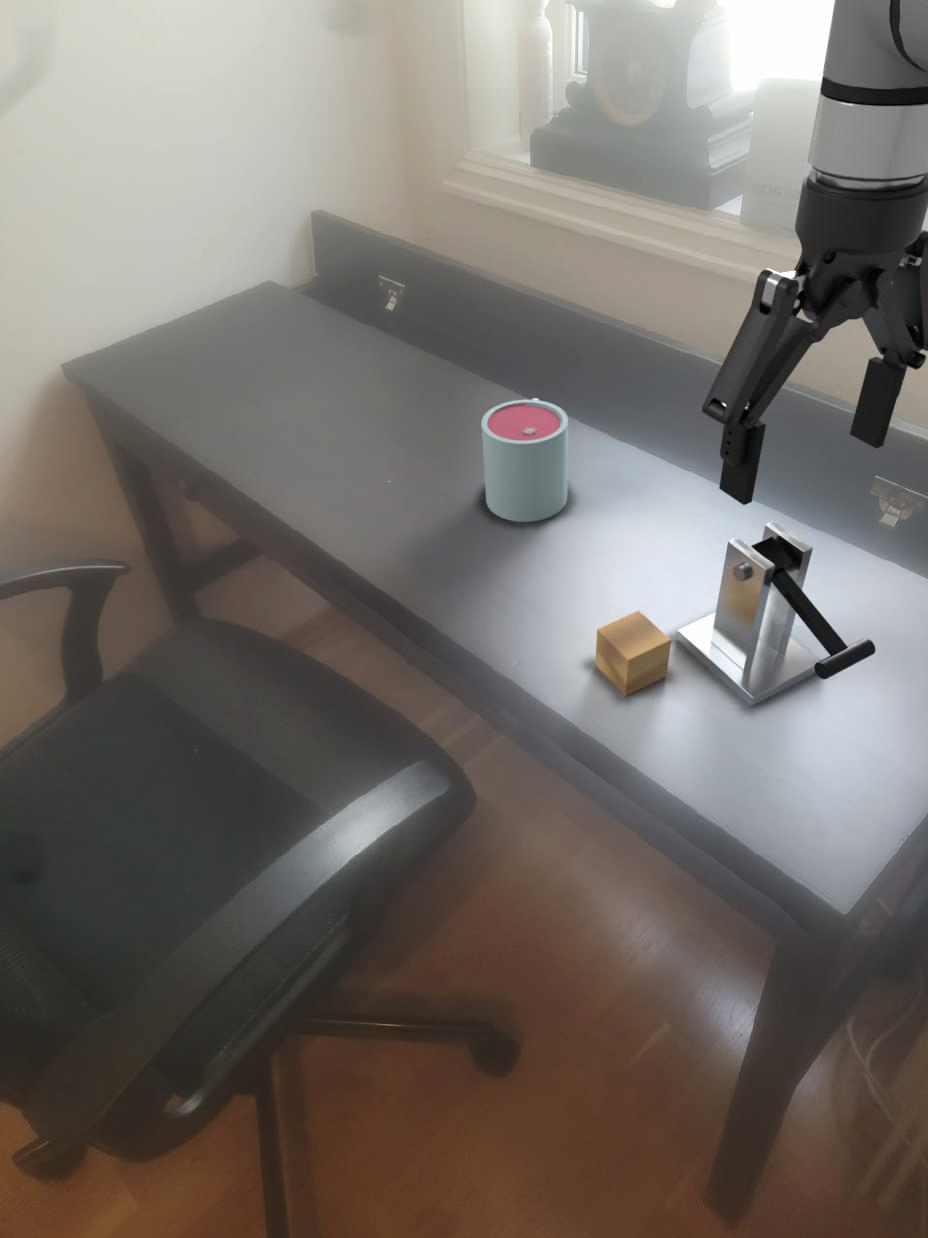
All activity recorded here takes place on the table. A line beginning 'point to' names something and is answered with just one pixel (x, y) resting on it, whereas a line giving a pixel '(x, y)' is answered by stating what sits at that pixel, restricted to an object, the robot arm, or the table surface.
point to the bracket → (754, 622)
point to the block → (632, 652)
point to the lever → (813, 615)
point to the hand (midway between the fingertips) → (802, 467)
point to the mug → (525, 459)
